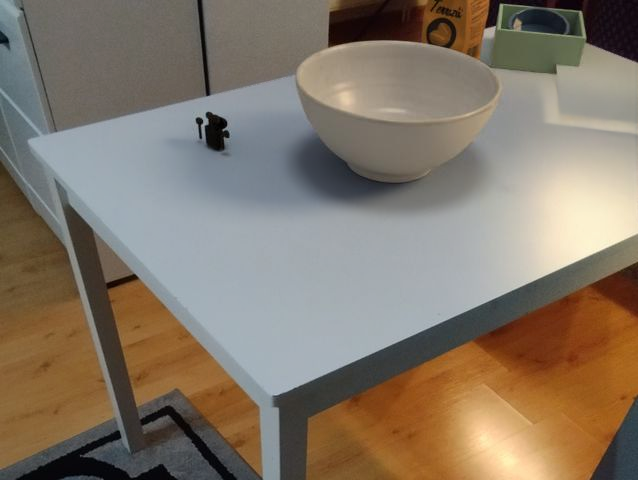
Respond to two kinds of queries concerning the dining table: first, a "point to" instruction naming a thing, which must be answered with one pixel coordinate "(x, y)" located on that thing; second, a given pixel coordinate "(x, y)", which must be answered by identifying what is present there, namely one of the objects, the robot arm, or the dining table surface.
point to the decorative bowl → (396, 104)
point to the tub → (537, 44)
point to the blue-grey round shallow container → (539, 21)
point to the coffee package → (456, 25)
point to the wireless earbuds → (214, 130)
